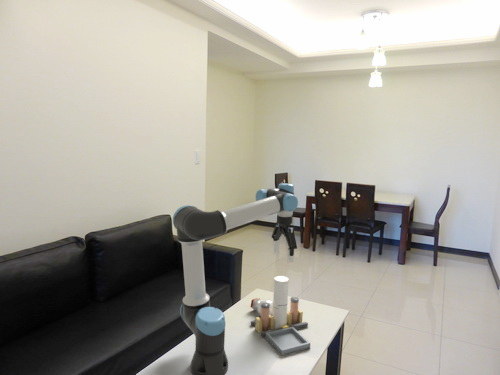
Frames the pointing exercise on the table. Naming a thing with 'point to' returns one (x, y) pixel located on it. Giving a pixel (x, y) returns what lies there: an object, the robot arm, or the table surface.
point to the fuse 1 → (265, 316)
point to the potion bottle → (257, 305)
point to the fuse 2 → (294, 309)
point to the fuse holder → (258, 326)
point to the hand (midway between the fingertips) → (282, 257)
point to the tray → (287, 341)
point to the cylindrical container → (280, 301)
